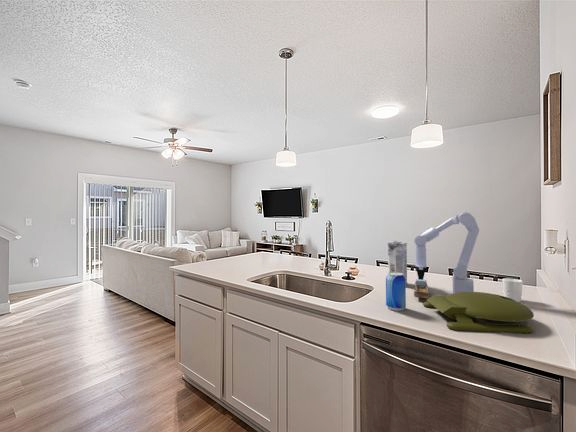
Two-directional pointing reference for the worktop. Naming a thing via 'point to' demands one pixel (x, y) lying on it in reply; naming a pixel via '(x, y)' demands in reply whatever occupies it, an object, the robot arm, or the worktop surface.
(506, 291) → the white cup
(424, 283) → the block
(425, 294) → the wooden tray
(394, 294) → the beer can
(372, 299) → the worktop surface
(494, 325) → the spaceship
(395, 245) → the juice carton
